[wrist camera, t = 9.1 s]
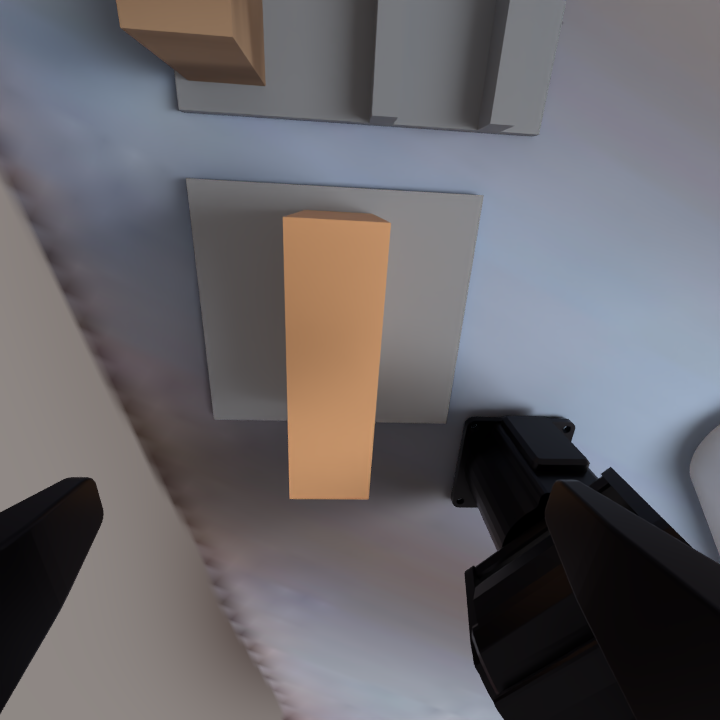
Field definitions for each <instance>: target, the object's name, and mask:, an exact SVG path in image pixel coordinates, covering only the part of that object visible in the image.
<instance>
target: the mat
mask: <svg viewBox="0 0 720 720" xmlns="http://www.w3.org/2000/svg"><path fill="white" fill-rule="evenodd" d="M186 184H187V192H188V201H189V210H190V218H191V227H192V235H193V244H194V253H195V261H196V270H197V278H198V287H199V295H200V304H201V313H202V321H203V330H204V338H205V347H206V355H207V364H208V373H209V381H210V390H211V398H212V407H213V416H214V420H266V421H288V412H287V371H286V329H285V288H284V246H283V217H284V216H287V215H290V214H293V213H296V212H300V211H303V210H317V211H335V212H352V213H370V214H374V215H376V216H378V217H380V218H382V219H384V220H386V221H388V222H390V223H391V230H390V242H389V254H388V267H387V279H386V291H385V304H384V316H383V328H382V340H381V353H380V365H379V377H378V390H377V402H376V414H375V422H378V423H433V424H446V421H447V415H448V409H449V403H450V397H451V390H452V384H453V378H454V372H455V366H456V360H457V354H458V348H459V342H460V336H461V330H462V324H463V318H464V312H465V305H466V299H467V293H468V287H469V281H470V275H471V269H472V263H473V257H474V251H475V245H476V239H477V233H478V227H479V221H480V214H481V208H482V202H483V196H484V195H467V194H449V193H432V192H415V191H398V190H380V189H363V188H346V187H329V186H311V185H294V184H277V183H259V182H242V181H225V180H208V179H190V178H186Z"/></svg>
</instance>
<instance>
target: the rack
mask: <svg viewBox="0 0 720 720" xmlns="http://www.w3.org/2000/svg"><path fill="white" fill-rule="evenodd" d="M262 3H263V29H264V55H265V81H266V86H255V85H241V84H228V83H214V82H201V81H188V80H187V79H186V78H184V77H183V76H182V75H181V74H179V73H178V72H177V71H175V70H174V73H175V81H176V90H177V99H178V107H179V110H180V111H182V112H187V113H202V114H216V115H231V116H245V117H260V118H275V119H289V120H304V121H318V122H333V123H347V124H362V125H376V126H391V127H405V128H420V129H434V130H449V131H463V132H478V133H493V134H507V135H522V136H536V135H539V132H540V127H541V122H542V117H543V112H544V107H545V102H546V98H547V93H548V88H549V83H550V78H551V73H552V68H553V63H554V59H555V54H556V49H557V44H558V39H559V34H560V29H561V24H562V20H563V15H564V10H565V5H566V0H262Z"/></svg>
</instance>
